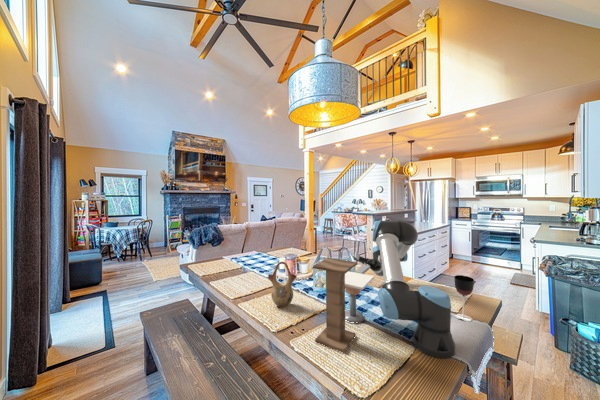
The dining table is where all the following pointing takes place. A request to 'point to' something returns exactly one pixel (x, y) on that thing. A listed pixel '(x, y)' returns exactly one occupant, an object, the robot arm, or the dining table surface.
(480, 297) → the dining table surface
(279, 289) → the ceramic vessel
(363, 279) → the lid
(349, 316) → the brown goblet
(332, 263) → the stand
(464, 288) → the wineglass
